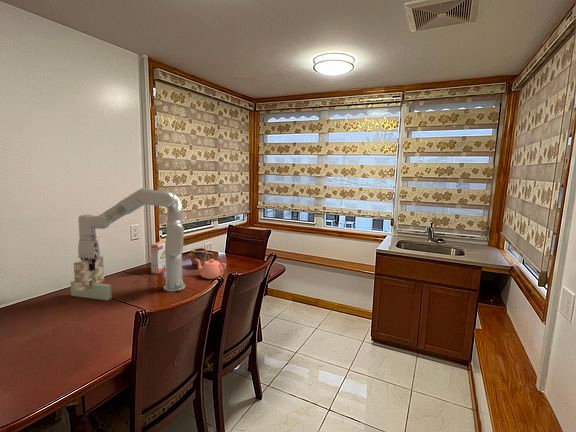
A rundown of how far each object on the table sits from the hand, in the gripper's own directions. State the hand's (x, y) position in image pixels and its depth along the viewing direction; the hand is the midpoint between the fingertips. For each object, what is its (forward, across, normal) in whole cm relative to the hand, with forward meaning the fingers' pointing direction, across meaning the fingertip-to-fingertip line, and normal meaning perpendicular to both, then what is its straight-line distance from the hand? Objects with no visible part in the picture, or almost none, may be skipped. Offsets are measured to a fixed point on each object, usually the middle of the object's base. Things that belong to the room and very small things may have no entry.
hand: (89, 269), depth 168 cm
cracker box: (+16, -8, -51) cm, 54 cm away
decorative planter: (+16, -31, -68) cm, 76 cm away
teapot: (+16, -47, -51) cm, 71 cm away
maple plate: (+9, 0, 0) cm, 9 cm away
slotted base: (+16, 0, 0) cm, 16 cm away
